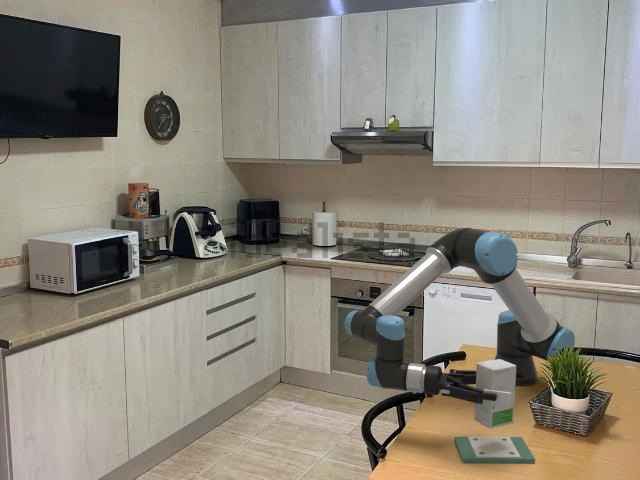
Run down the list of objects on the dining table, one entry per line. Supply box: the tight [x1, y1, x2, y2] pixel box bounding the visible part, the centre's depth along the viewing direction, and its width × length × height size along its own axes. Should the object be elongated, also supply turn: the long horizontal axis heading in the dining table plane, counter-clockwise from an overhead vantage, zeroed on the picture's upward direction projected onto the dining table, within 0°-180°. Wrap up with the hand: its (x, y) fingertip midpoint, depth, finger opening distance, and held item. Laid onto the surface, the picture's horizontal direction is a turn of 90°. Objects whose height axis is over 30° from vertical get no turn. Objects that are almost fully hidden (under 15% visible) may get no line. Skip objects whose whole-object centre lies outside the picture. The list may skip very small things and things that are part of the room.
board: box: [453, 435, 536, 464], centre depth 169 cm, size 18×12×2 cm, turn 89°
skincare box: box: [473, 359, 516, 429], centre depth 167 cm, size 8×7×16 cm
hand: (512, 390), depth 165 cm, fingers closed on skincare box, 10 cm apart
